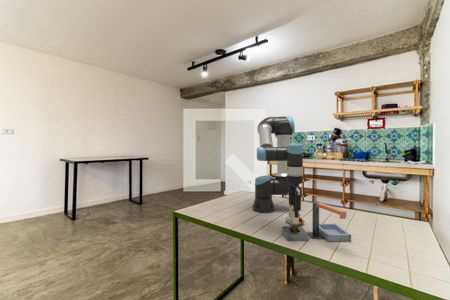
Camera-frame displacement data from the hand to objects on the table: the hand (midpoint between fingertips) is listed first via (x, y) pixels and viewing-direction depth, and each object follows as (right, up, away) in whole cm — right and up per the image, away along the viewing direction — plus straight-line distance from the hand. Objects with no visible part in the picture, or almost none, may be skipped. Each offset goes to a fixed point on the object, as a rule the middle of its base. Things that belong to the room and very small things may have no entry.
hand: (294, 221), depth 106 cm
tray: (+19, -7, +1) cm, 20 cm away
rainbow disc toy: (+6, -7, +17) cm, 19 cm away
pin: (0, -5, 0) cm, 5 cm away
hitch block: (0, -7, 0) cm, 7 cm away
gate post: (+10, -7, 0) cm, 13 cm away
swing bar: (+13, +7, -8) cm, 16 cm away
